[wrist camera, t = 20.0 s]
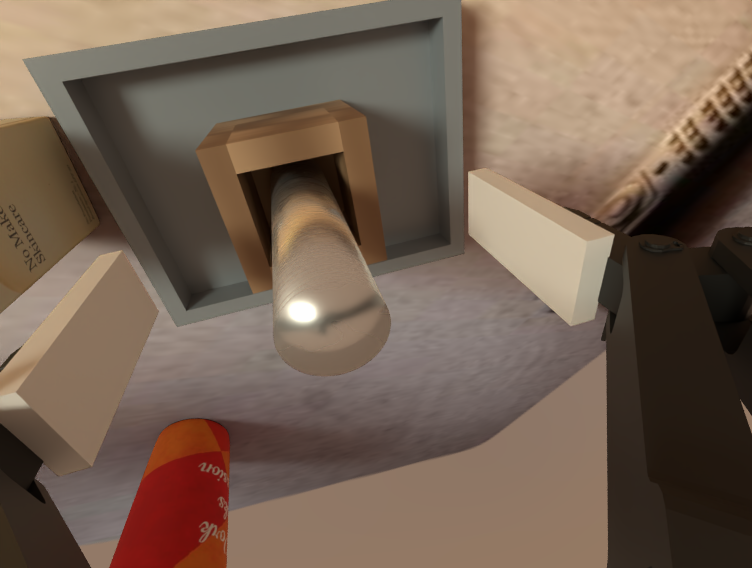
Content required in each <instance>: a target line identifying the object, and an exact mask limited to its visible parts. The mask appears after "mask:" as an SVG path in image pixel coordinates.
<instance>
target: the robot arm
mask: <svg viewBox="0 0 752 568" xmlns="http://www.w3.org/2000/svg"><path fill="white" fill-rule="evenodd" d="M468 228H469V235H470V236H471V237H472V238H473V239H474V240H476V241H477V242H478V243H479V244H480V245H481V246H482V247H483V248H484V249H486V250H487V251H488V252H489V253H490V254H491V255H492V256H493V257H494V258H496V259H497V260H498V261H499V262H500V263H501V264H502V265H503V266H504V267H506V268H507V269H508V270H509V271H510V272H511V273H512V274H513V275H514V276H516V277H517V278H518V279H519V280H520V281H521V282H522V283H523V284H524V285H526V286H527V287H528V288H529V289H530V290H531V291H532V292H533V293H534V294H535V295H537V296H538V297H539V298H540V299H541V300H542V301H543V302H544V303H545V304H547V305H548V306H549V307H550V308H551V309H552V310H553V311H554V312H555V313H557V314H558V315H559V316H560V317H561V318H562V319H563V320H564V321H565V322H567V323H568V324H569V325H570V326H574V325H577V324H581V323H584V322H587V321H591V320H594V319H595V315H596V311H597V307H598V302H599V303H601V304H602V305H603V306H605V307H606V308H607V309H609V311H608V315H607V319H606V323H605V327H604V331H603V334H602V338H601V340H602V341H606V354H607V355H606V357H607V358H606V360H607V466H608V467H607V469H608V471H607V475H608V476H607V477H608V563H607V568H752V433H751V430H750V427H749V425H748V422H747V419H746V416H745V413H744V410H743V407H742V404H741V401H742V402H743V404H744V405H745V406H746V408H747V409H748V411H749V412H750V414H751V415H752V227H744V228H743V227H733V228H725V229H722V230H720V231H718V232H717V234H716V236H715V239H714V241H713V243H712V246H711V247H699V248H688V247H687V246H686V245H685V244H684V243H683V242H681V241H679V240H677V239H674V238H671V237H667V236H662V235H655V234H643V235H638V236H633V237H630V236H628V235H626V234H624V233H622V232H620V231H618V230H616V229H614V228H612V227H610V226H608V225H606V224H604V223H601V222H600V221H598V220H596V219H594V218H591V217H590V216H588V215H586V214H584V213H582V212H580V211H578V210H574V209H570V208H566V207H561V206H559V205H557V204H555V203H553V202H551V201H549V200H547V199H545V198H543V197H542V196H540V195H538V194H536V193H534V192H532V191H530V190H528V189H526V188H524V187H522V186H520V185H519V184H517V183H515V182H513V181H511V180H509V179H507V178H505V177H503V176H501V175H499V174H497V173H495V172H494V171H492V170H490V169H488V168H482V169H478V170H474V171H469V172H468ZM158 312H159V311H158V309H157V307H156V306H155V304H154V302H153V301H152V299H151V297H150V296H149V294H148V292H147V291H146V289H145V287H144V286H143V284H142V282H141V281H140V279H139V277H138V276H137V274H136V272H135V271H134V269H133V267H132V265H131V264H130V262H129V260H128V259H127V257H126V255H125V254H124V252H123V250H121V251H117V252H112V253H108V254H104V255H99V257H98V258H97V259H96V260H95V261H94V263H93V264H92V265H91V266H90V267H89V268H88V270H87V271H86V272H85V273H84V274H83V276H82V277H81V278H80V279H79V280H78V281H77V283H76V284H75V285H74V286H73V287H72V289H71V290H70V291H69V292H68V293H67V294H66V296H65V297H64V298H63V299H62V300H61V302H60V303H59V304H58V305H57V306H56V307H55V309H54V310H53V311H52V312H51V313H50V315H49V316H48V317H47V318H46V319H45V320H44V322H43V323H42V324H41V325H40V326H39V328H38V329H37V330H36V331H35V332H34V333H33V335H32V336H31V337H30V338H29V339H28V341H27V342H26V343H25V344H24V345H23V346H21V347H20V348H19V349H17V350H16V351H15V352H14V353H12V354H11V355H10V356H9V357H8V359H7V360H6V361H5V362H4V363H3V364H2V366H1V367H0V568H91V567H90V565H89V563H88V561H87V560H86V558H85V556H84V554H83V553H82V551H81V549H80V547H79V546H78V544H77V542H76V541H75V539H74V537H73V535H72V534H71V532H70V530H69V528H68V527H67V525H66V523H65V521H64V520H63V518H62V516H61V514H60V513H59V511H58V509H57V507H56V506H55V504H54V502H53V501H52V499H51V497H50V495H49V494H48V492H47V490H46V488H45V487H44V486H43V485H42V484H41V483H40V482H38V481H37V480H36V479H35V476H36V474H37V472H38V471H39V469H40V467H41V465H42V463H44V464H45V465H46V466H47V467H48V468H50V469H51V470H52V471H53V472H54V473H55V474H56V475H58V476H62V475H66V474H69V473H72V472H76V471H79V470H83V469H86V468H89V467H92V466H93V463H94V461H95V459H96V456H97V454H98V452H99V449H100V447H101V445H102V443H103V440H104V438H105V436H106V433H107V431H108V429H109V426H110V424H111V422H112V419H113V417H114V415H115V412H116V410H117V408H118V405H119V403H120V401H121V398H122V396H123V394H124V391H125V389H126V387H127V384H128V382H129V380H130V377H131V375H132V373H133V370H134V368H135V366H136V363H137V361H138V359H139V357H140V354H141V352H142V350H143V347H144V345H145V343H146V340H147V338H148V336H149V333H150V331H151V329H152V326H153V324H154V322H155V319H156V317H157V315H158ZM740 399H741V401H740Z"/></svg>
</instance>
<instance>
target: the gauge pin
mask: <svg viewBox="0 0 752 568" xmlns="http://www.w3.org/2000/svg"><path fill="white" fill-rule="evenodd" d="M271 222H272V279H273V336H274V343H275V347H276V349H277V351H278V353H279V355H280V356H281V358H282V359H283V360H284V361H285V362H286V363H287V364H288V365H290V366H291V367H292V368H294V369H296V370H298V371H300V372H303V373H306V374H310V375H315V376H334V375H340V374H344V373H348V372H351V371H353V370H355V369H358V368H360V367H361V366H363V365H365V364H366V363H368V362H369V361H370V360H372V359H373V358H374V357H375V356H376V355H377V354H378V353H379V352H380V350H381V349H382V348H383V346H384V344H385V343H386V341H387V338H388V336H389V332H390V326H391V319H390V314H389V310H388V308H387V306H386V304H385V302H384V299H383V297H382V295H381V293H380V291H379V289H378V287H377V285H376V283H375V281H374V279H373V276H372V274H371V272H370V270H369V268H368V266H367V264H366V262H365V260H364V258H363V256H362V253H361V251H360V249H359V247H358V245H357V243H356V241H355V239H354V237H353V235H352V233H351V230H350V228H349V226H348V224H347V222H346V220H345V218H344V216H343V214H342V212H341V210H340V208H339V205H338V203H337V201H336V199H335V197H334V195H333V193H332V191H331V189H330V187H329V185H328V182H327V180H326V178H325V176H324V174H323V172H322V170H321V168H320V167H319V165H318V164H317V163H316V162H315V161H313V160H312V159H306V160H301V161H296V162H291V163H287V164H282V165H277V166H275V167H274V169H273V171H272V174H271Z"/></svg>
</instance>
